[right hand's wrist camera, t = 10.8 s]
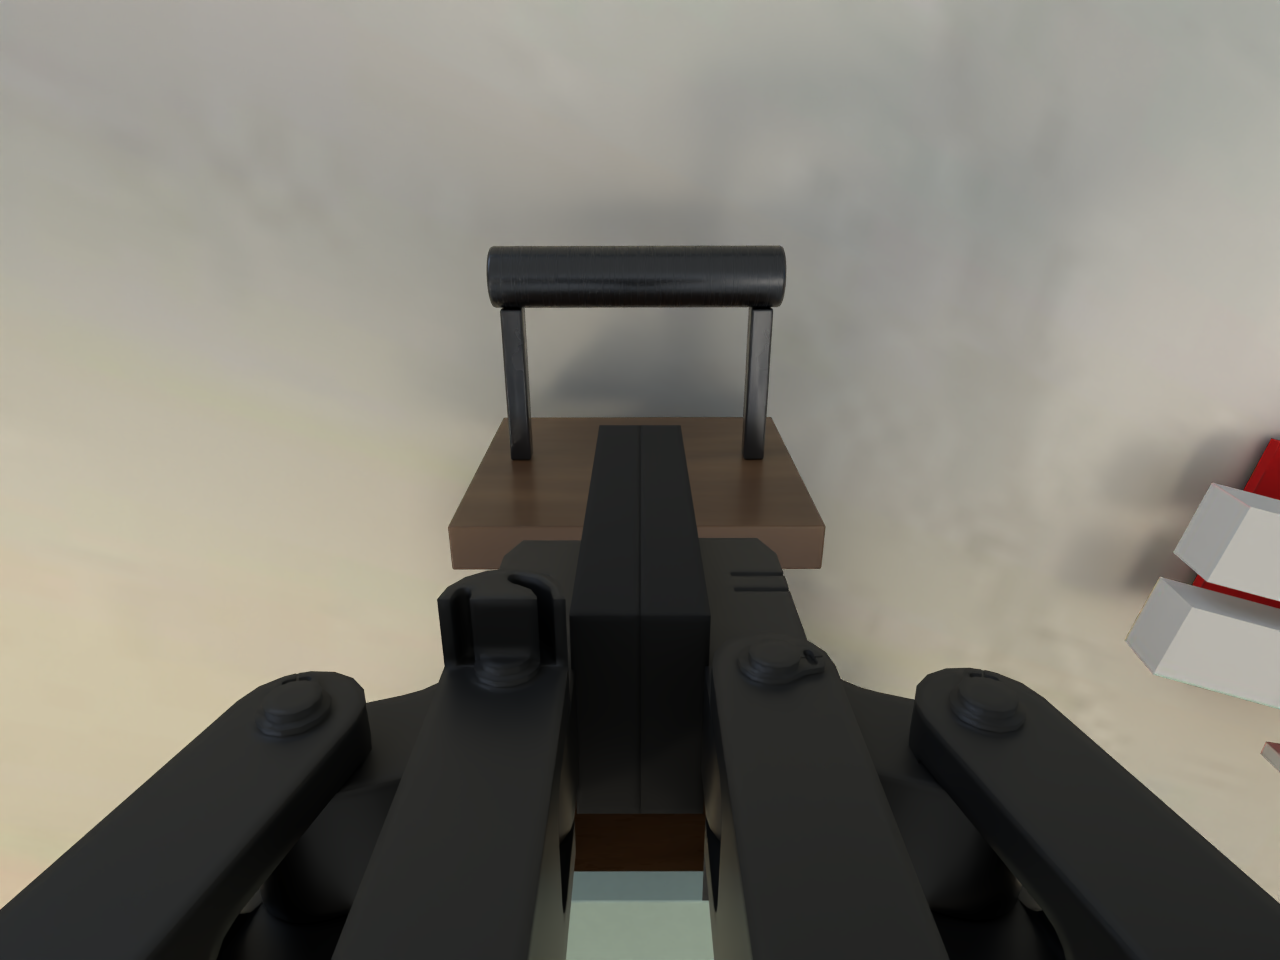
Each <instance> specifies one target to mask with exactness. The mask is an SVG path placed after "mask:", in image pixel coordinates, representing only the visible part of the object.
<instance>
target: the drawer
mask: <svg viewBox="0 0 1280 960" xmlns="http://www.w3.org/2000/svg"><path fill="white" fill-rule="evenodd" d="M785 285H786V257H785V252H784V249H783V247H781V246H493V247H491V248H490V249H489V252H488V257H487V286H488V293H489V298H490V301H491V303H492V305H493V306H494V307H496V308H502V309H501V311H500V316H501V330H502V344H503V358H504V371H505V385H506V399H507V413H508V418H504V419H503V421H502V423H501V425H500V427H499V428H498V430H497V432H496V434H495V436H494V438H493V440H492V442H491V444H490V446H489V448H488V450H487V452H486V454H485V456H484V458H483V460H482V462H481V464H480V466H479V468H478V470H477V472H476V473H475V475H474V477H473V479H472V481H471V483H470V485H469V487H468V489H467V491H466V493H465V495H464V497H463V499H462V501H461V503H460V505H459V507H458V509H457V511H456V513H455V515H454V517H453V519H452V520H451V522H450V524H449V526H448V531H449V540H450V549H451V559H452V567H453V569H499V568H500V565H501V563H502V560H503V557H504V556H505V555H506V554H507V553H508V552H509V551H511V550H512V549H513V548H514V547H516V546H517V545H518V544H519V543H520V542H522V541H523V540H581V538H582V531H583V525H584V519H585V512H586V506H587V500H588V494H589V487H590V481H591V475H592V468H593V462H594V456H595V450H596V443H597V437H598V431H599V425H681V431H682V437H683V443H684V450H685V456H686V462H687V468H688V475H689V481H690V487H691V494H692V500H693V506H694V513H695V519H696V525H697V531H698V538H758V539H759V540H760V541H762V542H763V543H764V544H765V545H766V546H768V547H769V548H770V549H771V550H773V551H774V552H775V553H776V554H777V557H778V559H779V562H780V565H781V568H782V569H820V568H821V565H822V555H823V545H824V535H825V525H824V523H823V521H822V519H821V517H820V515H819V513H818V511H817V509H816V507H815V505H814V503H813V500H812V498H811V496H810V494H809V492H808V490H807V488H806V486H805V484H804V482H803V480H802V478H801V476H800V474H799V472H798V470H797V468H796V466H795V464H794V462H793V460H792V458H791V456H790V454H789V452H788V450H787V448H786V446H785V444H784V442H783V440H782V438H781V436H780V434H779V432H778V430H777V428H776V426H775V424H774V422H773V420H772V418H771V417H766V414H767V399H768V383H769V368H770V352H771V337H772V321H773V309H772V308H771V307H778V306H780V305H781V303H782V301H783V298H784V293H785ZM594 307H749V315H748V334H747V353H746V372H745V391H744V410H743V417H613V418H531V407H530V391H529V374H528V357H527V340H526V324H525V308H594ZM574 819H575V843H576V855H575V866H574V871H703V867H704V843H705V819H706V812H705V803H704V802H703V814H577V802H576V807H575V816H574Z"/></svg>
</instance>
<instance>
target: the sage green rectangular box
mask: <svg viewBox="0 0 1280 960" xmlns="http://www.w3.org/2000/svg"><path fill="white" fill-rule="evenodd" d="M702 892H703V871H574V877H573V888H572V899H571V910H570V921H569V932H568V943H567V954H566V960H714V953H713V942H712V931H711V920H710V909H709V901H702Z"/></svg>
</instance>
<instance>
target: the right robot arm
mask: <svg viewBox="0 0 1280 960" xmlns="http://www.w3.org/2000/svg"><path fill="white" fill-rule="evenodd" d="M437 602H438V611H439V620H440V629H441V637H442V646H443V655H444V664H445V667H444V670H443V672H442V675H441V677H440V680H439V683H437V684H435V685H432V686H430V687H428V688H426V689H423V690H420V691H417V692H413V693H410V694H406V695H402V696H397V697H393V698H388V699H383V700H378V701H373V702H369V703H366V700H365V694H364V689H363V688H362V687H361V686H360V685H359V684H358V683H357V682H356V681H355V680H354V679H353V678H351V677H348V676H345V675H342V674H339V673H336V672H317V671H310V672H304V673H299V674H292V675H288V676H284V677H282V678H279V679H277V680H274V681H272V682H269V683H267V684H264V685H262V686H259V687H258V688H256V689H255V690H253V691H252V692H250V693H249V694H247V695H246V696H244V697H243V698H241V699H240V700H238V701H237V702H236V703H235V704H234V705H232V706H231V707H230V708H229V709H228V710H227V711H226V712H224V713H223V714H222V715H221V716H220V717H219V718H218V719H217V720H215V721H214V722H213V723H212V724H211V725H210V726H209V727H207V728H206V729H205V730H204V731H203V732H202V733H201V734H199V735H198V736H197V737H196V738H195V739H194V740H193V741H192V742H190V743H189V744H188V745H187V746H186V747H185V748H184V749H182V750H181V751H180V752H179V753H178V754H177V755H176V756H174V757H173V758H172V759H171V760H170V761H169V762H168V763H167V764H165V765H164V766H163V767H162V768H161V769H160V770H159V771H157V772H156V773H155V774H154V775H153V776H152V777H151V778H149V779H148V780H147V781H146V782H145V783H144V784H143V785H142V786H140V787H139V788H138V789H137V790H136V791H135V792H134V793H132V794H131V795H130V796H129V797H128V798H127V799H126V800H124V801H123V802H122V803H121V804H120V805H119V806H118V807H117V808H115V809H114V810H113V811H112V812H111V813H110V814H109V815H107V816H106V817H105V818H104V819H103V820H102V821H101V822H99V823H98V824H97V825H96V826H95V827H94V828H93V829H92V830H90V831H89V832H88V833H87V834H86V835H85V836H84V837H82V838H81V839H80V840H79V841H78V842H77V843H76V844H74V845H73V846H72V847H71V848H70V849H69V850H68V851H67V852H65V853H64V854H63V855H62V856H61V857H60V858H59V859H57V860H56V861H55V862H54V863H53V864H52V865H51V866H49V867H48V868H47V869H46V870H45V871H44V872H43V873H42V874H40V875H39V876H38V877H37V878H36V879H35V880H34V881H32V882H31V883H30V884H29V885H28V886H27V887H26V888H24V889H23V890H22V891H21V892H20V893H19V894H18V895H17V896H15V897H14V898H13V899H12V900H11V901H10V902H9V903H7V904H6V905H5V906H4V907H3V908H2V909H1V910H0V960H566V954H567V943H568V932H569V921H570V910H571V899H572V888H573V877H574V866H575V855H576V843H575V819H574V816H575V807H576V802H577V814H703V802H704V803H705V812H706V819H705V843H704V867H703V892H702V901H709V909H710V920H711V931H712V942H713V953H714V960H1280V904H1279V903H1278V902H1277V901H1276V900H1275V899H1274V898H1273V897H1271V896H1270V895H1269V894H1268V893H1267V892H1266V891H1265V890H1263V889H1262V888H1261V887H1260V886H1259V885H1258V884H1257V883H1255V882H1254V881H1253V880H1252V879H1251V878H1250V877H1249V876H1247V875H1246V874H1245V873H1244V872H1243V871H1242V870H1240V869H1239V868H1238V867H1237V866H1236V865H1235V864H1234V863H1232V862H1231V861H1230V860H1229V859H1228V858H1227V857H1226V856H1224V855H1223V854H1222V853H1221V852H1220V851H1219V850H1218V849H1216V848H1215V847H1214V846H1213V845H1212V844H1211V843H1210V842H1208V841H1207V840H1206V839H1205V838H1204V837H1203V836H1202V835H1200V834H1199V833H1198V832H1197V831H1196V830H1195V829H1194V828H1192V827H1191V826H1190V825H1189V824H1188V823H1187V822H1185V821H1184V820H1183V819H1182V818H1181V817H1180V816H1179V815H1177V814H1176V813H1175V812H1174V811H1173V810H1172V809H1171V808H1169V807H1168V806H1167V805H1166V804H1165V803H1164V802H1163V801H1161V800H1160V799H1159V798H1158V797H1157V796H1156V795H1155V794H1153V793H1152V792H1151V791H1150V790H1149V789H1148V788H1147V787H1145V786H1144V785H1143V784H1142V783H1141V782H1140V781H1139V780H1137V779H1136V778H1135V777H1134V776H1133V775H1132V774H1130V773H1129V772H1128V771H1127V770H1126V769H1125V768H1124V767H1122V766H1121V765H1120V764H1119V763H1118V762H1117V761H1116V760H1114V759H1113V758H1112V757H1111V756H1110V755H1109V754H1108V753H1106V752H1105V751H1104V750H1103V749H1102V748H1101V747H1100V746H1098V745H1097V744H1096V743H1095V742H1094V741H1093V740H1092V739H1090V738H1089V737H1088V736H1087V735H1086V734H1085V733H1084V732H1082V731H1081V730H1080V729H1079V728H1078V727H1077V726H1076V725H1074V724H1073V723H1072V722H1071V721H1070V720H1069V719H1067V718H1066V717H1065V716H1064V715H1063V714H1062V713H1061V712H1059V711H1058V710H1057V709H1056V708H1055V707H1054V706H1053V705H1051V704H1050V703H1049V702H1048V701H1047V700H1046V699H1045V698H1043V697H1042V696H1040V695H1039V694H1037V693H1036V692H1034V691H1033V690H1031V689H1030V688H1028V687H1027V686H1025V685H1024V684H1022V683H1020V682H1018V681H1015V680H1013V679H1010V678H1008V677H1005V676H1003V675H1000V674H998V673H995V672H991V671H986V670H985V671H984V670H981V669H973V668H946V669H943V670H940V671H937V672H934V673H931V674H928V675H927V676H926V677H925V678H924V679H923V680H922V681H921V682H920V683H919V684H918V685H917V688H916V694H915V700H913V699H908V698H903V697H899V696H894V695H889V694H884V693H879V692H875V691H872V690H868V689H864V688H861V687H857V686H855V685H853V684H851V683H848V682H846V681H844V680H841V679H840V676H839V674H838V671H837V669H836V666H835V664H834V663H833V662H832V660H831V659H830V658H829V656H828V655H827V653H826V652H825V651H823V650H822V649H820V648H819V647H817V646H816V645H814V644H812V643H811V642H809V641H807V638H806V635H805V633H804V630H803V627H802V624H801V621H800V619H799V616H798V613H797V610H796V607H795V604H794V602H793V599H792V596H791V593H790V591H789V590H788V585H787V582H786V579H785V576H783V571H782V568H781V565H780V562H779V559H778V557H777V554H776V553H775V552H774V551H773V550H771V549H770V548H769V547H768V546H766V545H765V544H764V543H763V542H762V541H760V540H759V539H758V538H698V531H697V525H696V519H695V513H694V506H693V500H692V494H691V487H690V481H689V475H688V468H687V462H686V456H685V450H684V443H683V437H682V431H681V425H599V431H598V437H597V443H596V450H595V456H594V462H593V468H592V475H591V481H590V487H589V494H588V500H587V506H586V512H585V519H584V525H583V531H582V538H581V540H523V541H522V542H520V543H519V544H518V545H517V546H516V547H514V548H513V549H512V550H511V551H509V552H508V553H507V554H506V555H505V556H504V557H503V560H502V563H501V565H500V568H499V570H491V571H485V572H482V573H478V574H475V575H471V576H468V577H465V578H463V579H461V580H459V581H458V582H456V583H454V584H452V585H450V586H449V587H447V588H446V590H445V591H444V592H443V593H442V594H441V596H440V597H439V598H438V599H437Z"/></svg>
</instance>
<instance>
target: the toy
mask: <svg viewBox="0 0 1280 960" xmlns="http://www.w3.org/2000/svg"><path fill="white" fill-rule="evenodd" d="M1173 553H1174V554H1175V555H1176V556H1178V557H1179V558H1180V559H1181V560H1182V561H1183V562H1185V563H1186V564H1187V565H1188V566H1189V567H1190V568H1192V569H1193V570H1194V571H1195V572H1196V573H1197V574H1198V575H1197V576H1196V578H1195V580H1194V582H1193V584H1192V585H1189V584H1185V583H1182V582H1178V581H1174V580H1170V579H1167V578H1163V577H1159V579H1158V581H1157V583H1156V584H1155V586H1154V588H1153V590H1152V592H1151V593H1150V595H1149V597H1148V599H1147V601H1146V602H1145V604H1144V606H1143V608H1142V610H1141V611H1140V613H1139V615H1138V617H1137V619H1136V620H1135V622H1134V624H1133V626H1132V628H1131V629H1130V631H1129V633H1128V635H1127V637H1126V638H1125V641H1126V642H1127V644H1128V645H1129V646H1130V647H1131V649H1132V650H1133V651H1134V652H1135V653H1136V655H1137V656H1138V657H1139V658H1140V659H1141V661H1142V662H1143V663H1144V664H1145V665H1146V667H1147V668H1148V669H1149V670H1150V671H1151V673H1152V674H1153V675H1157V676H1161V677H1164V678H1168V679H1171V680H1175V681H1179V682H1182V683H1186V684H1190V685H1193V686H1197V687H1201V688H1204V689H1208V690H1211V691H1215V692H1219V693H1222V694H1226V695H1230V696H1233V697H1237V698H1241V699H1244V700H1248V701H1251V702H1255V703H1259V704H1262V705H1266V706H1270V707H1273V708H1277V709H1280V440H1276V439H1272V438H1271V440H1270V442H1269V444H1268V446H1267V447H1266V449H1265V451H1264V453H1263V455H1262V457H1261V459H1260V460H1259V462H1258V464H1257V466H1256V468H1255V470H1254V471H1253V473H1252V475H1251V477H1250V479H1249V481H1248V482H1247V484H1246V486H1245V488H1244V490H1239V489H1235V488H1231V487H1227V486H1224V485H1220V484H1216V483H1211V485H1210V487H1209V489H1208V491H1207V492H1206V494H1205V496H1204V498H1203V500H1202V501H1201V503H1200V505H1199V507H1198V509H1197V510H1196V512H1195V514H1194V516H1193V518H1192V519H1191V521H1190V523H1189V525H1188V527H1187V528H1186V530H1185V532H1184V534H1183V536H1182V537H1181V539H1180V541H1179V543H1178V545H1177V547H1176V548H1175V550H1174V552H1173ZM1260 754H1262V755H1263V756H1264V757H1265V758H1266V759H1267V760H1268V761H1269V762H1270V763H1271V764H1272V765H1273V766H1274V767H1275V768H1276V769H1277V770H1278V771H1279V772H1280V744H1279V743H1272V742H1266V743H1265V745H1264V747H1263V749H1262V751H1261V753H1260Z"/></svg>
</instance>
